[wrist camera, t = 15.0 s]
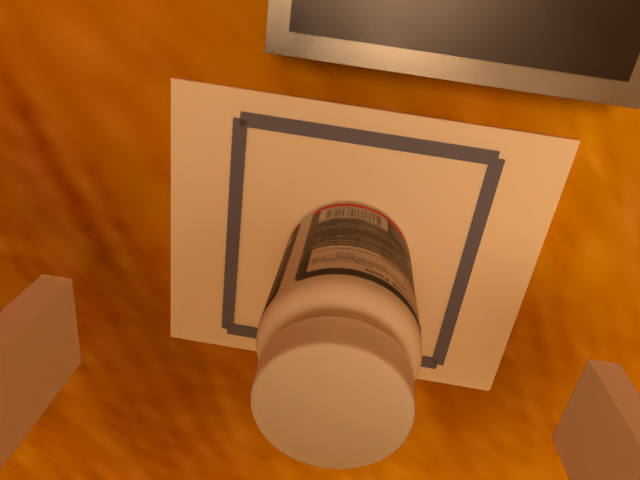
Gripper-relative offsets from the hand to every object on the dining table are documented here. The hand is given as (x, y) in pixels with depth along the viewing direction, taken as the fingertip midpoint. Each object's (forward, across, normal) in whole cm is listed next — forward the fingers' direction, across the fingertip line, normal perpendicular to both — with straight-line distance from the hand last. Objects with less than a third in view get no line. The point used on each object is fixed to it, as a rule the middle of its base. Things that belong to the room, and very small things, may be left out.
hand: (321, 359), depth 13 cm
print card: (+7, 0, 0) cm, 7 cm away
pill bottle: (+7, +1, -1) cm, 7 cm away
